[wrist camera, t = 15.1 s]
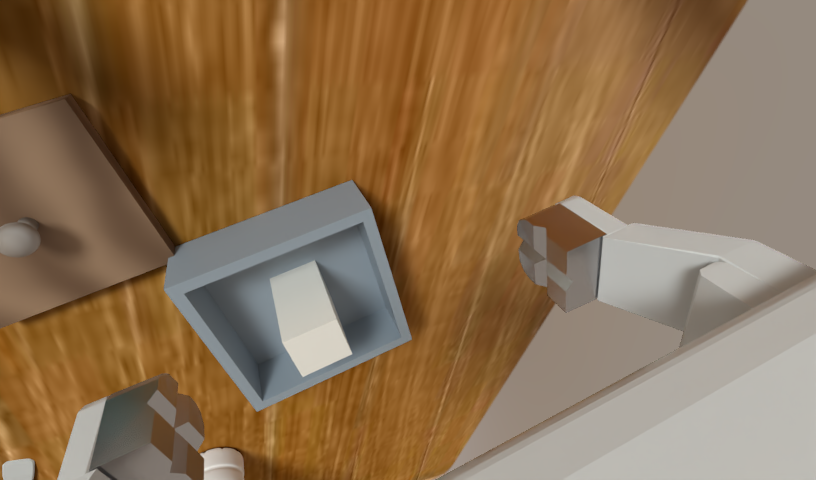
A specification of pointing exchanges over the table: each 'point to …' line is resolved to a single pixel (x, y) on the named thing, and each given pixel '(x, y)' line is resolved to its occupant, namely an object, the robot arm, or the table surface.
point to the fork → (19, 469)
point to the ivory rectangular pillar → (308, 319)
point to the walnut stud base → (66, 213)
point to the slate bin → (253, 300)
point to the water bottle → (223, 464)
